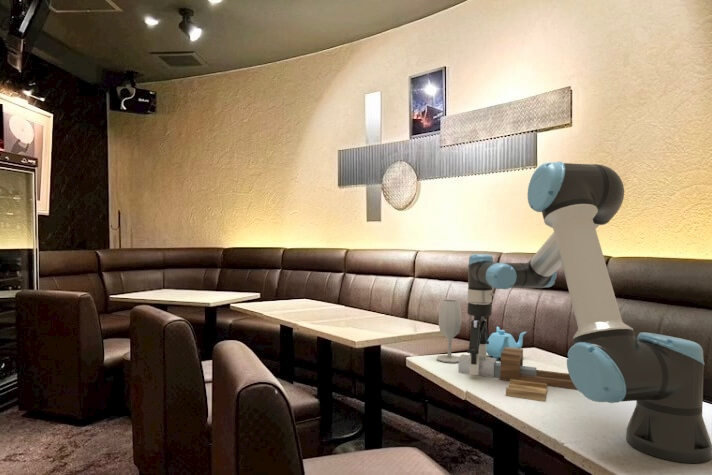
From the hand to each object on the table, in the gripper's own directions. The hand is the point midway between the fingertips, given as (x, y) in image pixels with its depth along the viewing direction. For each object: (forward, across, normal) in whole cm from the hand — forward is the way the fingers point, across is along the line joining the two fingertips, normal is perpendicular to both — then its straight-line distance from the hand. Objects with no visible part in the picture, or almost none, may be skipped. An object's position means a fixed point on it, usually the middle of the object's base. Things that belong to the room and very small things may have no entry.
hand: (478, 369), depth 157 cm
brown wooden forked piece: (+1, 0, -20) cm, 20 cm away
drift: (+1, -1, -12) cm, 12 cm away
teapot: (+1, +23, -4) cm, 23 cm away
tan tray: (+1, -15, -16) cm, 22 cm away
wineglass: (+1, +11, +12) cm, 16 cm away
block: (+1, -1, 0) cm, 2 cm away
